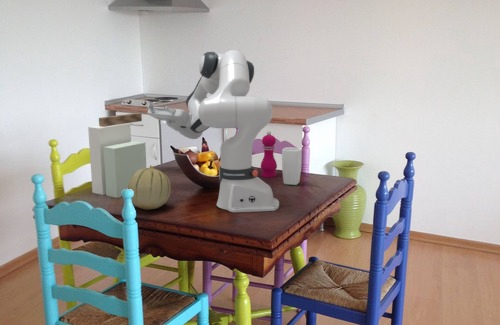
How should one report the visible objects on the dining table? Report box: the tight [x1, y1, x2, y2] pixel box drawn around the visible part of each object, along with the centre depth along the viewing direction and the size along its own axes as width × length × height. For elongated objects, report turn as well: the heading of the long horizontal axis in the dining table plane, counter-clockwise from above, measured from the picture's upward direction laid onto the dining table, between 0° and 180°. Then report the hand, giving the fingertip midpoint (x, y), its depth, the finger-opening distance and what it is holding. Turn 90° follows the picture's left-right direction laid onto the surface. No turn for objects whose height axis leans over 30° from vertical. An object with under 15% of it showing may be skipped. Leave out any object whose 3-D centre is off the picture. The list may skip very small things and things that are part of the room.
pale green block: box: [103, 140, 147, 199], centre depth 207 cm, size 16×6×19 cm, turn 146°
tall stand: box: [87, 123, 132, 196], centre depth 211 cm, size 16×6×26 cm, turn 146°
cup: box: [281, 146, 303, 186], centre depth 220 cm, size 7×7×15 cm
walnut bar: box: [98, 112, 143, 127], centre depth 212 cm, size 20×3×3 cm, turn 146°
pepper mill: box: [260, 131, 278, 179], centre depth 233 cm, size 7×7×20 cm
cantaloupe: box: [128, 165, 172, 211], centre depth 186 cm, size 15×15×15 cm
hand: (157, 106), depth 229 cm, fingers open, 8 cm apart
